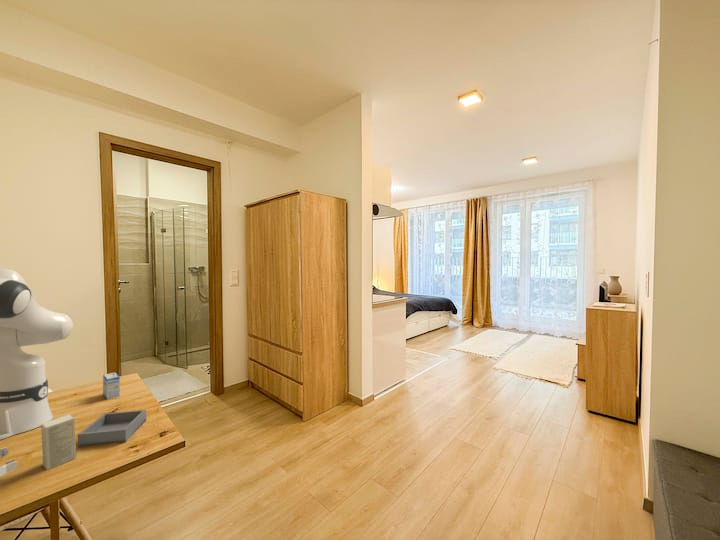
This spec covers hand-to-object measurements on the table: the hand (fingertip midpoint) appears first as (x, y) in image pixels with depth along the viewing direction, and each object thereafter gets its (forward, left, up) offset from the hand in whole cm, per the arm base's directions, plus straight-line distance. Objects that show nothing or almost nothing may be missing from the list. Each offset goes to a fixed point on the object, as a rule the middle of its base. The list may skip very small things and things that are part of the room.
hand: (12, 456), depth 77 cm
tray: (+13, +19, -6) cm, 24 cm away
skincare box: (+6, +6, -7) cm, 11 cm away
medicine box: (-5, +51, -7) cm, 52 cm away
